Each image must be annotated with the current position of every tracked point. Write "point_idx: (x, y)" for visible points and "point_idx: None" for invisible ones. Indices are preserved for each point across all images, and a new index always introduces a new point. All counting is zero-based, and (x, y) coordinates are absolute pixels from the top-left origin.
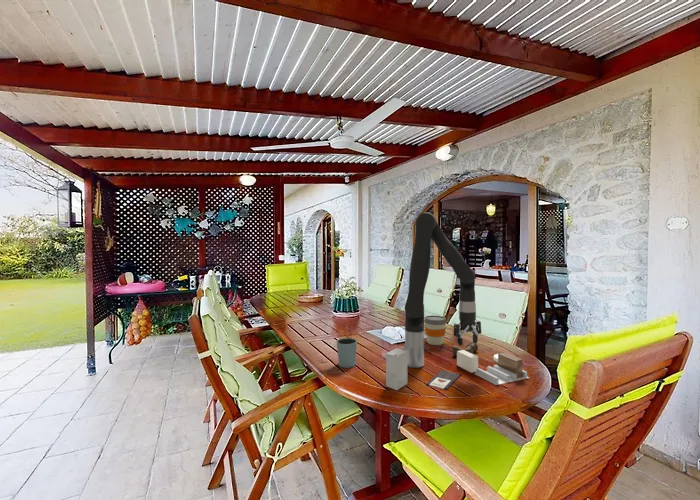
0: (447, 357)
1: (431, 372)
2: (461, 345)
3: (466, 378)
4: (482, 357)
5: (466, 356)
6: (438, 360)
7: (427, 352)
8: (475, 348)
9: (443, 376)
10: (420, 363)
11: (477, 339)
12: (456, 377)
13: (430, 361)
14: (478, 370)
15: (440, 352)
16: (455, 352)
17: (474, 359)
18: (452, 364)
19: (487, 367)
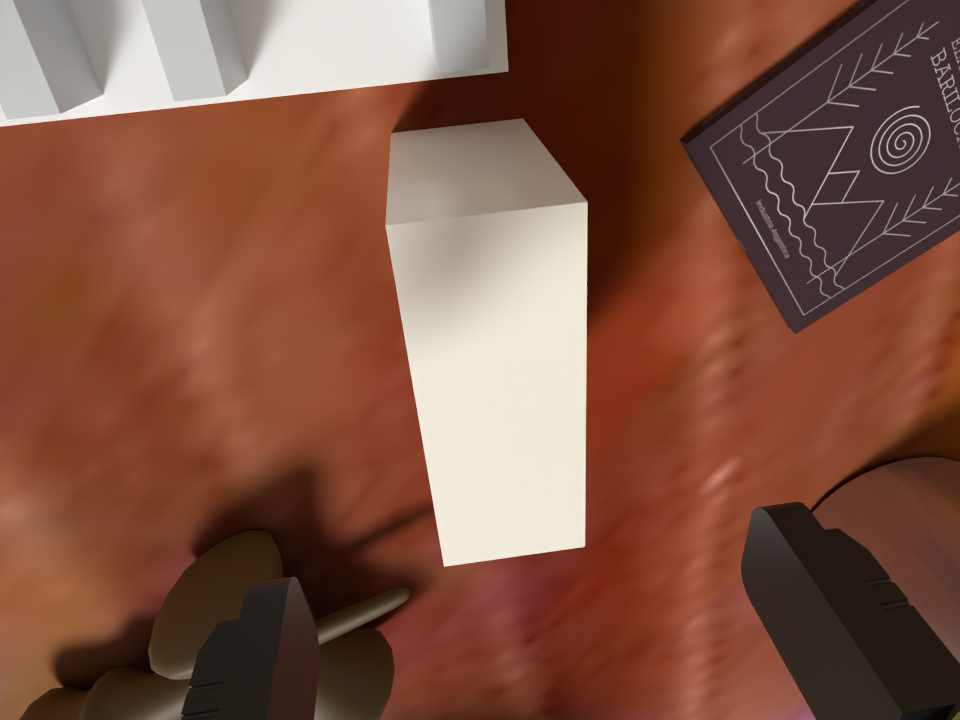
0: (461, 609)
1: (914, 323)
2: (793, 503)
3: (681, 9)
4: (50, 560)
5: (582, 329)
6: (599, 565)
7: (566, 710)
8: (56, 716)
9: (941, 148)
10: (930, 487)
11: (190, 693)
12: (825, 55)
13: (691, 557)
14: (481, 5)
15: (451, 700)
16: (367, 654)
17: (486, 196)
18: None
19: (228, 84)
